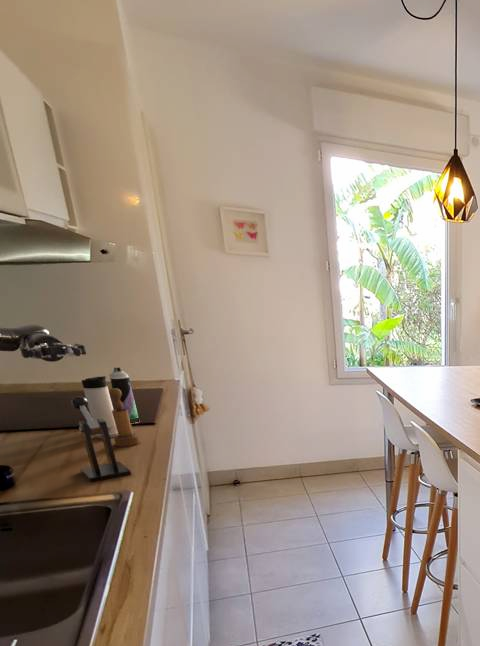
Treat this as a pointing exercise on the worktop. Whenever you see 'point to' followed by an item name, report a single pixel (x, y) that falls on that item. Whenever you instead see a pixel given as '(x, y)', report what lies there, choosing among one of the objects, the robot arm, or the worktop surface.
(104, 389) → the travel mug
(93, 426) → the tap lever
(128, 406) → the spray can
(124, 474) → the bracket
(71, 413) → the worktop surface
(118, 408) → the wooden pepper mill
